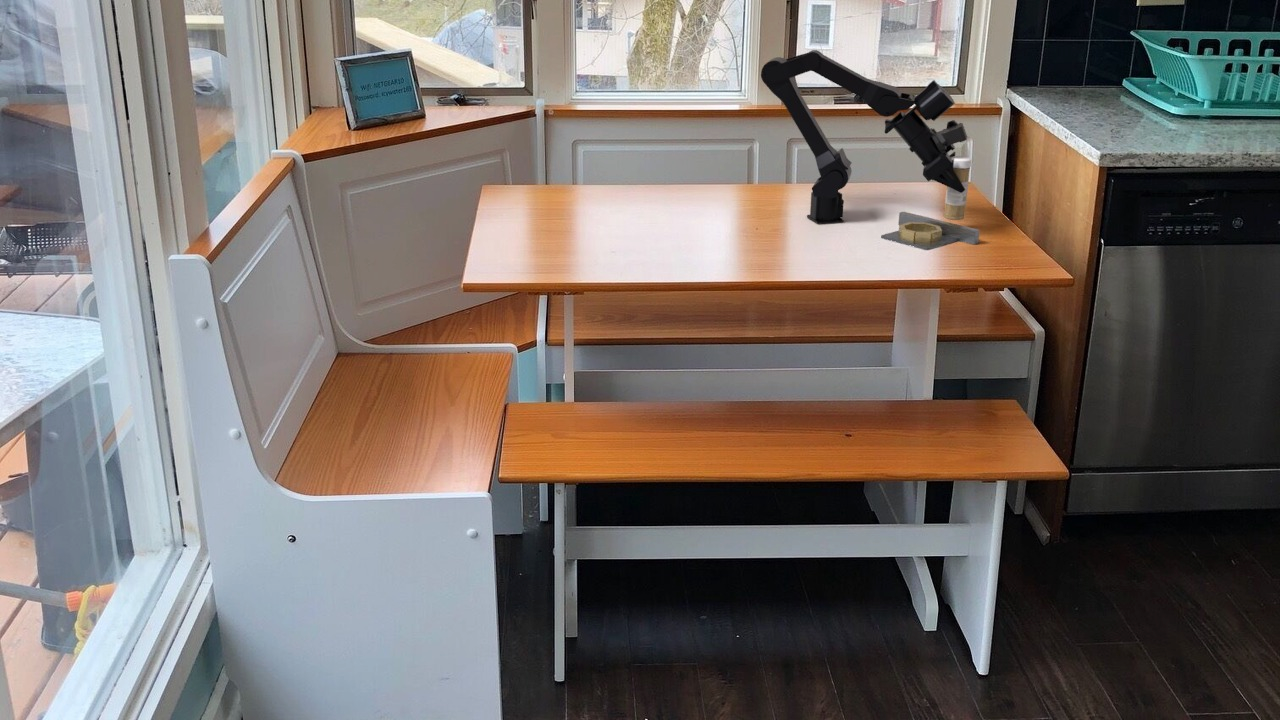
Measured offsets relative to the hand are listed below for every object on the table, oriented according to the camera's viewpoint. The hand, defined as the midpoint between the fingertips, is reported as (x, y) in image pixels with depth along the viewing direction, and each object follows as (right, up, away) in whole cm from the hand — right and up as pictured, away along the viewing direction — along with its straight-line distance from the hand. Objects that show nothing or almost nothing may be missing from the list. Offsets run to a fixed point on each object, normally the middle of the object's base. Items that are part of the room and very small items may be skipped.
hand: (963, 189), depth 263 cm
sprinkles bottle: (-1, -6, +3) cm, 7 cm away
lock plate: (-11, -11, -4) cm, 16 cm away
